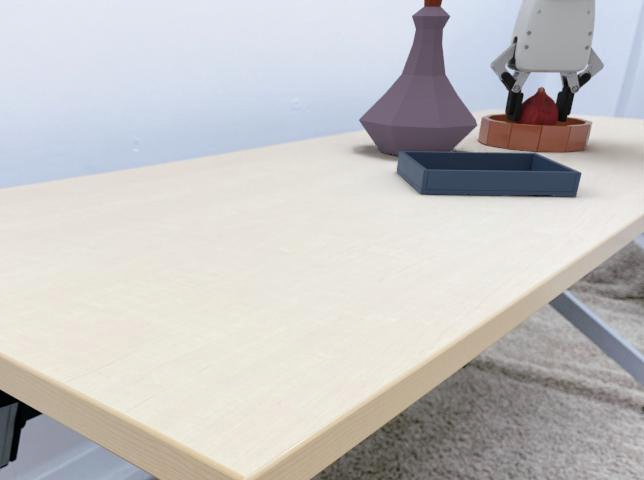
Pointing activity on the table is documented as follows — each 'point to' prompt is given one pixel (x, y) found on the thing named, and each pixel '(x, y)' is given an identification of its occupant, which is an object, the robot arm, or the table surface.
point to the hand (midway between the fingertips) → (536, 119)
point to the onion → (539, 110)
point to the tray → (486, 173)
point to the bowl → (535, 134)
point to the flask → (421, 96)
